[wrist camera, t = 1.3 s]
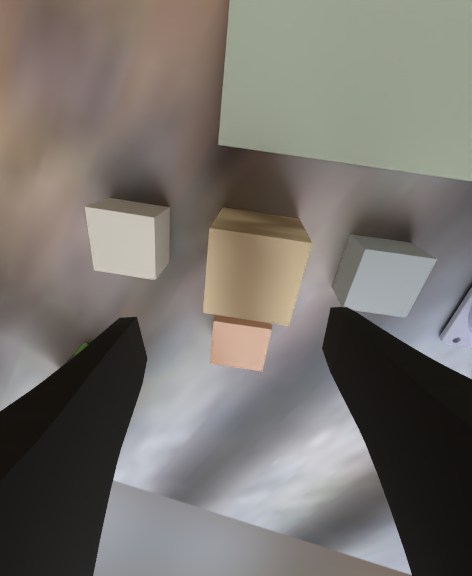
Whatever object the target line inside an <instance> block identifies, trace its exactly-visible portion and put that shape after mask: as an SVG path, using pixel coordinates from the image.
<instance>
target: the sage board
mask: <svg viewBox="0 0 472 576" xmlns="http://www.w3.org/2000/svg"><path fill="white" fill-rule="evenodd" d="M218 145H223V146H230V147H237V148H244V149H251V150H258V151H265V152H272V153H278V154H285V155H292V156H299V157H306V158H313V159H320V160H327V161H334V162H341V163H348V164H354V165H361V166H368V167H375V168H382V169H389V170H396V171H403V172H410V173H417V174H424V175H430V176H437V177H444V178H451V179H458V180H465V181H472V0H230V4H229V16H228V29H227V41H226V53H225V66H224V78H223V90H222V103H221V115H220V128H219V140H218Z"/></svg>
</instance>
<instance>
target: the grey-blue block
mask: <svg viewBox="0 0 472 576" xmlns="http://www.w3.org/2000/svg"><path fill="white" fill-rule="evenodd" d="M436 261H437V259H436V258H435V257H433V256H431V255H430V254H428V253H427V252H425V251H424V250H422V249H420V248H419V247H417V246H416V245H414V244H413V243H410V242H403V241H396V240H388V239H381V238H374V237H367V236H360V235H353V234H350V236H349V239H348V241H347V244H346V247H345V250H344V253H343V256H342V259H341V262H340V265H339V268H338V271H337V274H336V277H335V280H334V283H333V286H332V288H333V290H334V292H335V294H336V296H337V298H338V300H339V302H340V304H341V306H342V307H348V308H350V309H351V310H356V311H363V312H370V313H377V314H384V315H391V316H397V317H404V318H406V317H407V315H408V313H409V311H410V309H411V308H412V306H413V304H414V302H415V300H416V298H417V296H418V294H419V293H420V291H421V289H422V287H423V285H424V283H425V281H426V279H427V278H428V276H429V274H430V272H431V270H432V268H433V266H434V264H435V263H436Z"/></svg>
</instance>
